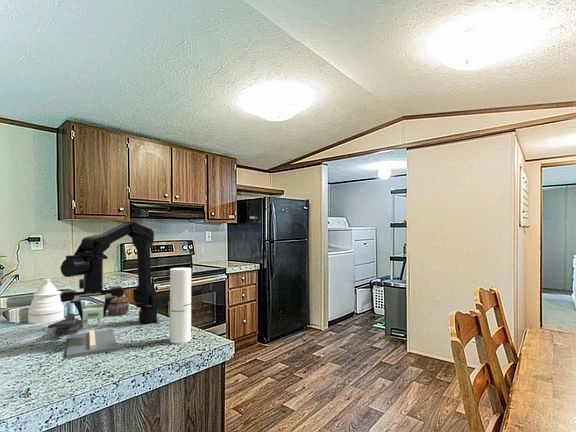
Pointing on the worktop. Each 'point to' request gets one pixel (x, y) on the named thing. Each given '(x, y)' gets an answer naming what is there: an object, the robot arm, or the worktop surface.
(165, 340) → the worktop surface
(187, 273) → the cylindrical container
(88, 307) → the cabinet block
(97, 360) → the worktop surface
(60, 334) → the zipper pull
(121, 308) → the cupcake
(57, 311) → the honey pot
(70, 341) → the cleat board
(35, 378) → the worktop surface
